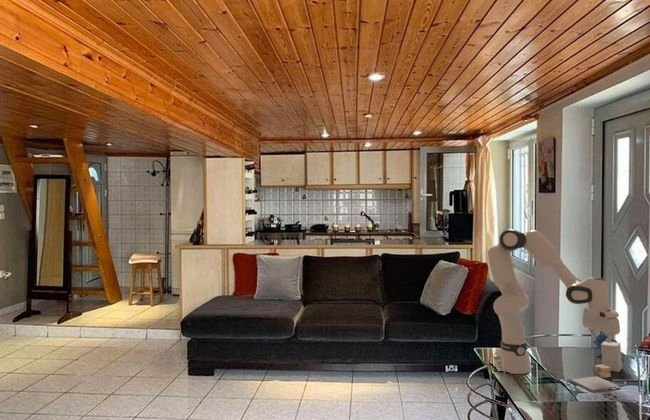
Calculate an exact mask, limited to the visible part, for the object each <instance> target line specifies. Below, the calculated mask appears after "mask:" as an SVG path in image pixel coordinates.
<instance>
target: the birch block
mask: <svg viewBox="0 0 650 420" xmlns="http://www.w3.org/2000/svg"><path fill="white" fill-rule="evenodd" d="M594 375H595V376H598V377H600V378H605V379H608V378H607V377H611V378H612V376H611V371H610V367H608V366H606V365H602V364H597V365H596V364H595V365H594Z"/></svg>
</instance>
